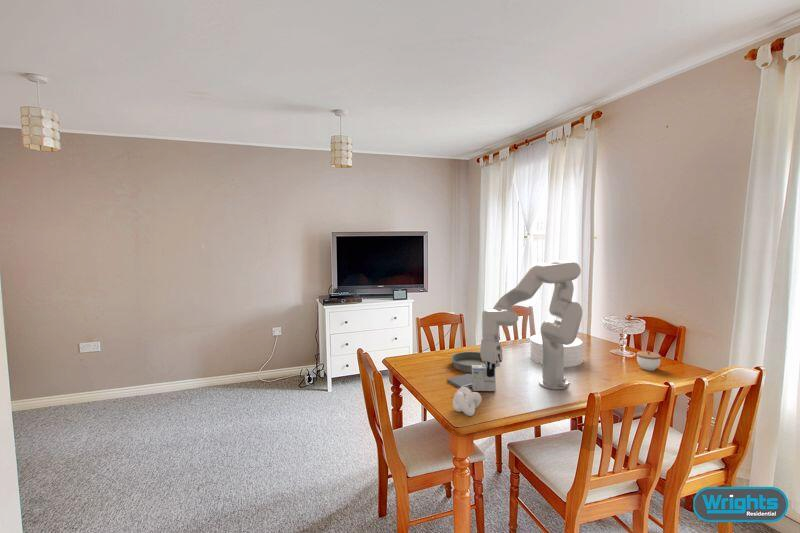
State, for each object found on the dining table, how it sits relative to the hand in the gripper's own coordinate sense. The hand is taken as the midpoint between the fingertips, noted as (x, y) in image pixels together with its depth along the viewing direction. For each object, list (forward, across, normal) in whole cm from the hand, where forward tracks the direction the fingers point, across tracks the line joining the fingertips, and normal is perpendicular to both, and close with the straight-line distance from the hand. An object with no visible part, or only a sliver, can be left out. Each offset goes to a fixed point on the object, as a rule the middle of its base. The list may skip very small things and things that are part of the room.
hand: (490, 376), depth 173 cm
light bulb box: (+8, +5, 0) cm, 10 cm away
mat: (+8, +17, 0) cm, 19 cm away
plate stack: (+8, +16, -66) cm, 68 cm away
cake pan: (+9, +34, -19) cm, 40 cm away
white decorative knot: (+9, -8, +20) cm, 23 cm away
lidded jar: (+8, -21, -92) cm, 95 cm away
